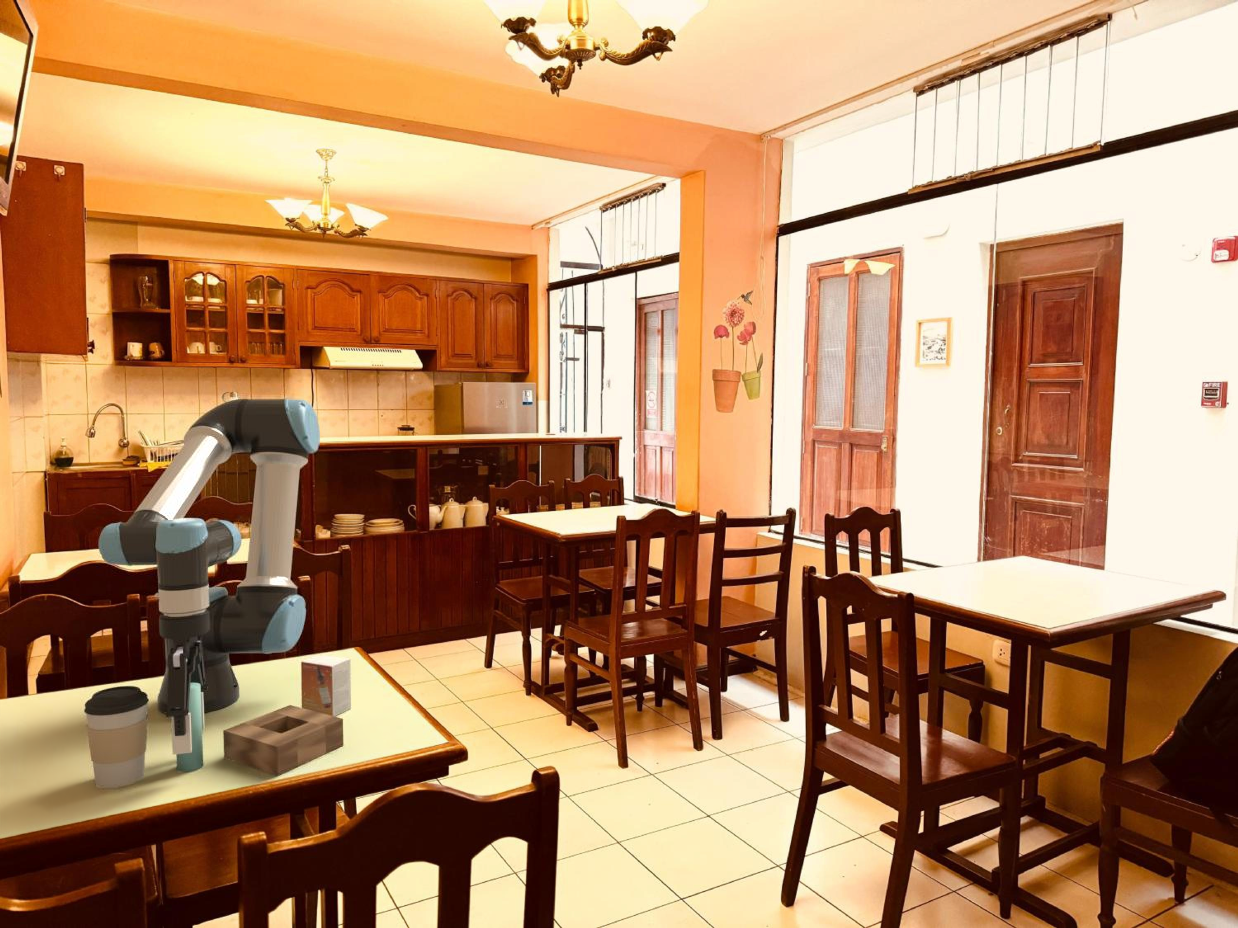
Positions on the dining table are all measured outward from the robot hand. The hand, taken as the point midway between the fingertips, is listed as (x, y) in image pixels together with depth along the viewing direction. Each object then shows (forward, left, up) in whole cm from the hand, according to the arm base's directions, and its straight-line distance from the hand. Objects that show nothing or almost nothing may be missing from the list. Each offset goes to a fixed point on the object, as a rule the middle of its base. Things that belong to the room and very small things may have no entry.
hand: (189, 740), depth 140 cm
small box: (0, +30, -5) cm, 30 cm away
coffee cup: (-6, -8, -5) cm, 11 cm away
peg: (0, 0, -5) cm, 5 cm away
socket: (+9, +12, -5) cm, 16 cm away
